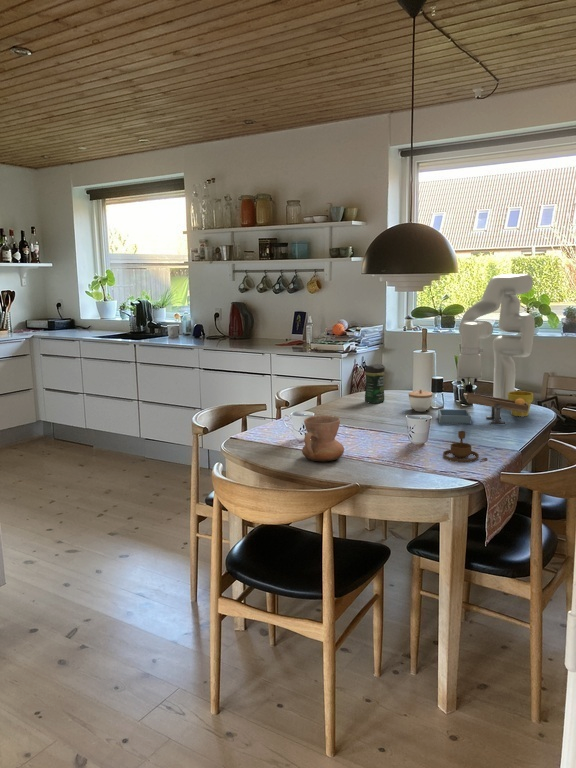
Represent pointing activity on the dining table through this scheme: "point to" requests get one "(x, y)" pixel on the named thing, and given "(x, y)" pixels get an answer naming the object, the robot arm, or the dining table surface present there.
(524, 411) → the chute
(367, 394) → the coffee jar
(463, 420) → the grey square tray
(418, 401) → the lidded jar
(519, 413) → the plant pot
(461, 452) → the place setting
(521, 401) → the ball
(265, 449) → the dining table surface
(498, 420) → the pivot stand
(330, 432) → the ceramic jug
